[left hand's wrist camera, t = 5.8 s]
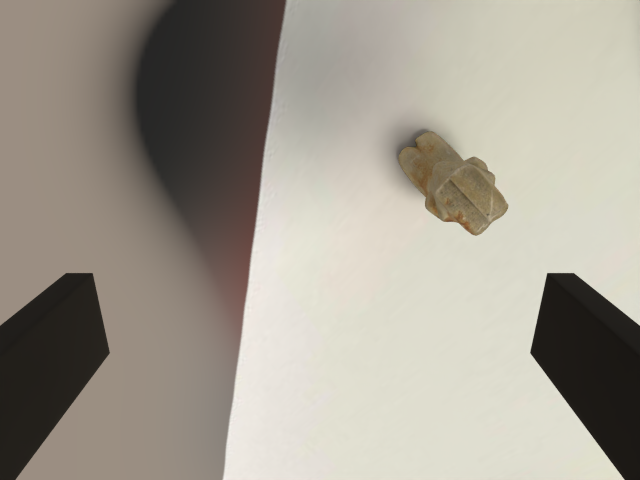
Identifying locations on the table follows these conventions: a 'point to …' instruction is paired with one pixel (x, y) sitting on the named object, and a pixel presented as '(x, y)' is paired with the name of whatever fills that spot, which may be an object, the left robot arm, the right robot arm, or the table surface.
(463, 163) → the sculpture
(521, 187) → the table surface
